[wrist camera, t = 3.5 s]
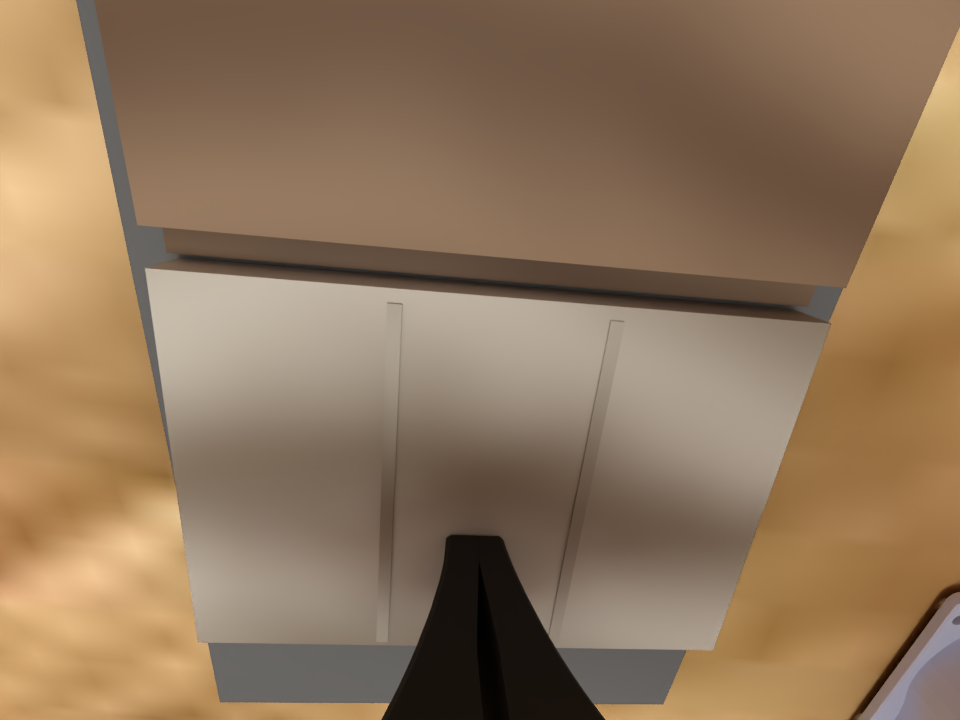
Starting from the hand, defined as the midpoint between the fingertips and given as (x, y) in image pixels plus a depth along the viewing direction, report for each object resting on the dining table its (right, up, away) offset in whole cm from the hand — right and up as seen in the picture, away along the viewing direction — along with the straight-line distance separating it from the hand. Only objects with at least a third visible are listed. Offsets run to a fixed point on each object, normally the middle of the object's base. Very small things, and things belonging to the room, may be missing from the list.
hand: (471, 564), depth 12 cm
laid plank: (+1, +10, -2) cm, 11 cm away
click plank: (0, +2, 0) cm, 2 cm away
